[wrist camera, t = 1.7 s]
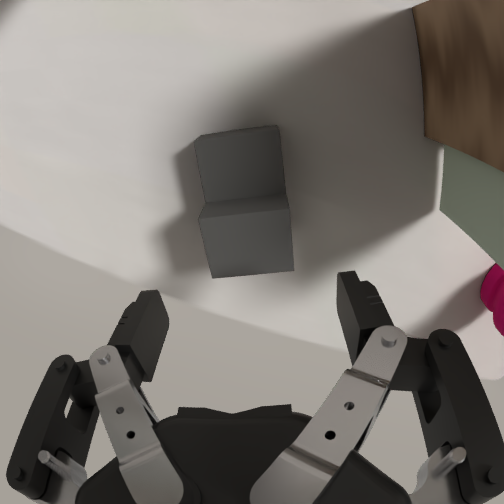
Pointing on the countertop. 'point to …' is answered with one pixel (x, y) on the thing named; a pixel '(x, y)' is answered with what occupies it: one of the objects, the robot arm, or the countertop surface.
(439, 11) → the brown upright flat box
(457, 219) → the sliding door
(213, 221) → the block
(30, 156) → the countertop surface
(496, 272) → the pepper mill
